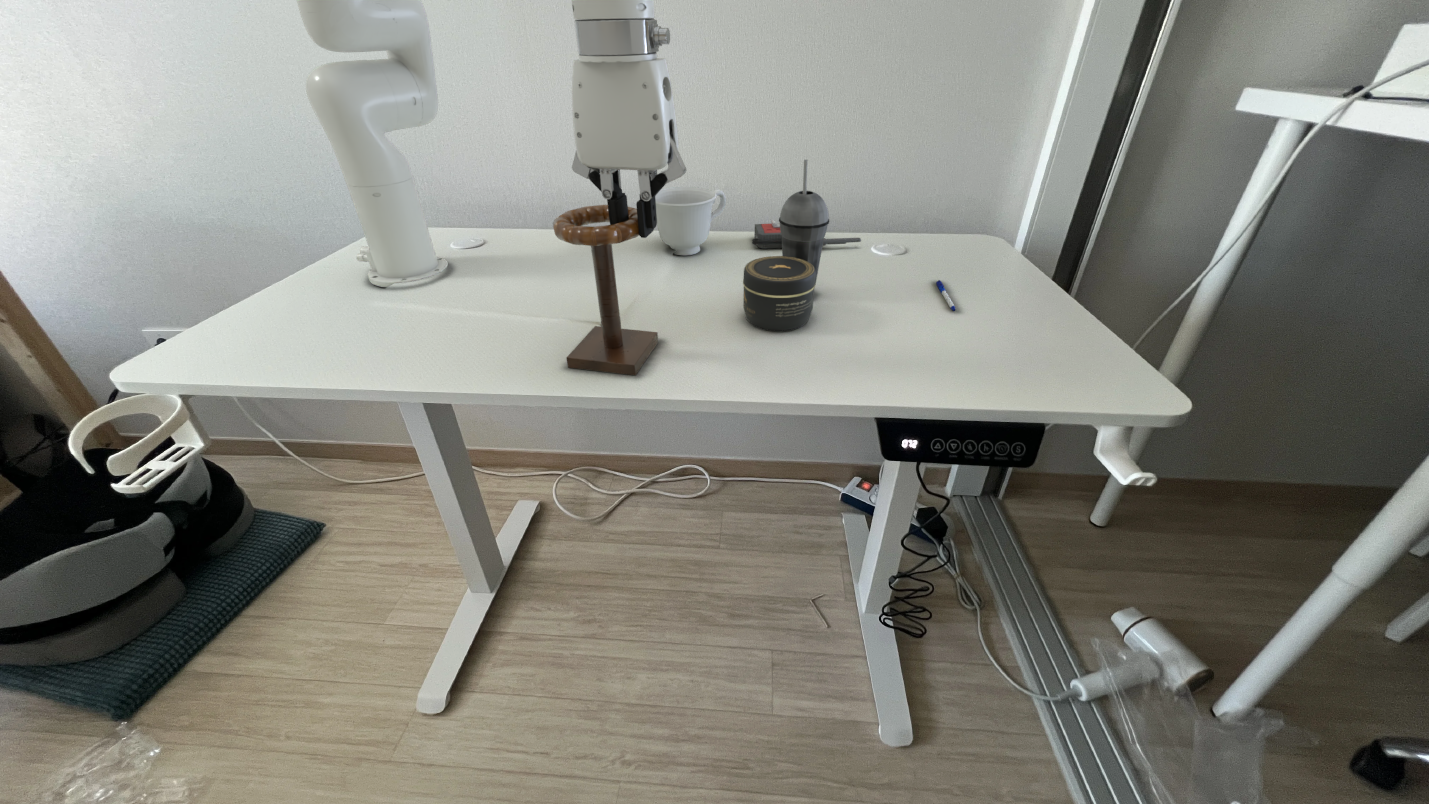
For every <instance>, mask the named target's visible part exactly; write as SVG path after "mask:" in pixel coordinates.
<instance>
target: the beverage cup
mask: <svg viewBox="0 0 1429 804" xmlns="http://www.w3.org/2000/svg"><path fill="white" fill-rule="evenodd" d="M808 161H809V160H808V159H804V160H803V176H802V177H803V180H802V181H803V182H802V190H800V191H797V192H795V193H793V194H792V195H790V196H789V197H788V198H787V200H785V202H784V203H783V205H782V207H781V210H780V212H779V213H780V215H779V218H778V223H780V231H781V235H782V248H781V256H787V257H794V258H799V259H802V260H805V261H807V262H809V263H810V264H812V265H813V266H814V268H815V272H816V278H815V282H816V284H817V279H818V274H819V268H820V263H821V262H820V261H821V256H822V250H823V246H824V245H823V240H824V238H825V237H826V234H827V230H828V226H829V224H830V217H829V216H830V215H829V209H828V206H827V203H826V202H825V200H824V199H823V197H821V195H820V194H818V193H817V192H814V191H812V190H807V187H808V186H807V185H808ZM816 284H815V286H816Z"/></svg>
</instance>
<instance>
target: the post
mask: <svg viewBox="0 0 1429 804" xmlns="http://www.w3.org/2000/svg"><path fill="white" fill-rule="evenodd" d="M590 249H591V258H592V265H593V271H594V278H595V279H594V280H595V287H596V294H597V302H598V309H599V317H600V324H601V326H599V325H595V326H594V327H592V329H591V330H589V332H588V333H587V334H586V335H585V336H584V337H583V338H582V339H581V341H580V342H579V343H578V344H577V345H576V346H575V347H574V348H573V349H572V350H571V352H570V353H569V354H567V356H566V363H567V364H566V365H567V368H569V369H577V370H584V371H592V372H593V371H594V372H601V373H603V372H604V373H610V374H619V375H627V376H637V374H638V373H639V371H640V370H641V368H642V367H643V366H644V364H645V362H646V361H647V360H648V358H649V356H650V355H651V354H652V353H653V351H654V350H655V348H656V346H657V345H658V343H659V332H658V331H651V330H650V331H649V330H639V329H630V328H622V323H621V313H620V304H619V296H618V290H617V289H618V288H617V278H616V270H615V269H616V268H615V261H614V252H613V244H609V245H600V246H590Z"/></svg>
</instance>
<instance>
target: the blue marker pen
mask: <svg viewBox="0 0 1429 804" xmlns="http://www.w3.org/2000/svg"><path fill="white" fill-rule="evenodd" d="M935 284H936V286H937V288H938V290H939V292H940V294H941V295H942V296H943V298H944V300H945V301H946V303H947V304H948V306H949V308H950V310H951V311H953V312H955V311H956V307H955V305H954V303H953V301H952V300H951V298H950V296H949V294H948V293H947V290H946V288H945V285H944V284H943V282H942V281H941V280H940V279H938V280H936V283H935Z"/></svg>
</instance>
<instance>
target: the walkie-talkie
mask: <svg viewBox="0 0 1429 804" xmlns="http://www.w3.org/2000/svg"><path fill="white" fill-rule="evenodd" d="M753 237H754V238H753V239H752V240H751V244H752V245H754V246H755V245H757V247H758V248H759V249H763V250H764V249H782V235H781V231H780V222H777V221H776V219H771V223H755V224H754V236H753ZM847 243H862V238H861V237H838V238H825V237H824V240H823V246H826V245H846V244H847Z"/></svg>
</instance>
